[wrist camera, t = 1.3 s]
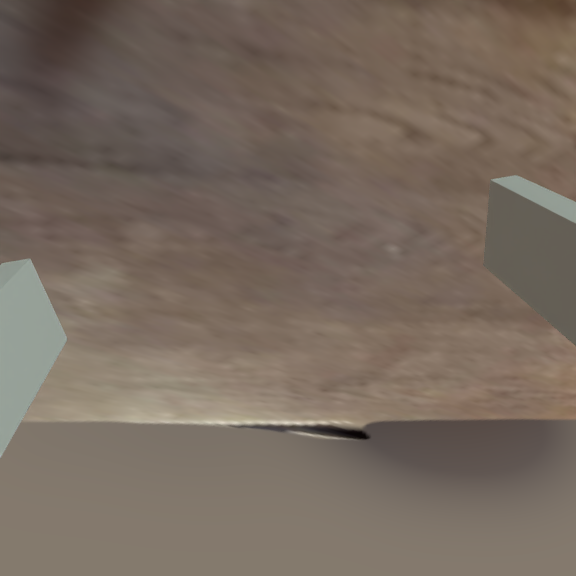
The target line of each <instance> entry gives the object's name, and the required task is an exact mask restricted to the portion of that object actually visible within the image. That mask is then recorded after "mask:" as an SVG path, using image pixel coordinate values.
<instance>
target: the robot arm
mask: <svg viewBox="0 0 576 576" xmlns="http://www.w3.org/2000/svg"><path fill="white" fill-rule="evenodd" d="M483 266H484V267H486V268H487V269H488V270H489V271H490V272H491V273H493V274H494V275H495V276H496V277H497V278H498V279H499V280H501V281H502V282H503V283H504V284H505V285H506V286H507V287H509V288H510V289H511V290H512V291H513V292H514V293H516V294H517V295H518V296H519V297H520V298H521V299H522V300H524V301H525V302H526V303H527V304H528V305H529V306H531V307H532V308H533V309H534V310H535V311H536V312H537V313H539V314H540V315H541V316H542V317H543V318H544V319H545V320H547V321H548V322H549V323H550V324H551V325H552V326H554V327H555V328H556V329H557V330H558V331H559V332H560V333H562V334H563V335H564V336H565V337H566V338H567V339H568V340H570V341H571V342H572V343H573V344H574V345H575V346H576V202H575V201H572V200H570V199H568V198H566V197H564V196H561V195H559V194H557V193H555V192H552V191H550V190H548V189H546V188H544V187H541V186H539V185H537V184H535V183H532V182H530V181H528V180H526V179H524V178H521V177H519V176H517V175H515V176H509V177H503V178H497V179H492V180H490V190H489V203H488V215H487V227H486V240H485V252H484V264H483ZM66 341H67V337H66V335H65V333H64V331H63V328H62V326H61V324H60V322H59V320H58V318H57V315H56V313H55V311H54V309H53V307H52V305H51V302H50V300H49V298H48V296H47V294H46V292H45V290H44V287H43V285H42V283H41V281H40V279H39V277H38V274H37V272H36V270H35V268H34V266H33V264H32V261H31V259H24V260H19V261H13V262H7V263H2V264H1V265H0V458H1V456H2V454H3V453H4V451H5V449H6V447H7V446H8V444H9V442H10V440H11V438H12V437H13V435H14V433H15V431H16V430H17V428H18V426H19V424H20V422H21V421H22V419H23V417H24V415H25V414H26V412H27V410H28V408H29V407H30V405H31V403H32V401H33V399H34V398H35V396H36V394H37V392H38V391H39V389H40V387H41V385H42V383H43V382H44V380H45V378H46V376H47V375H48V373H49V371H50V369H51V368H52V366H53V364H54V362H55V360H56V359H57V357H58V355H59V353H60V352H61V350H62V348H63V346H64V344H65V343H66Z"/></svg>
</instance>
